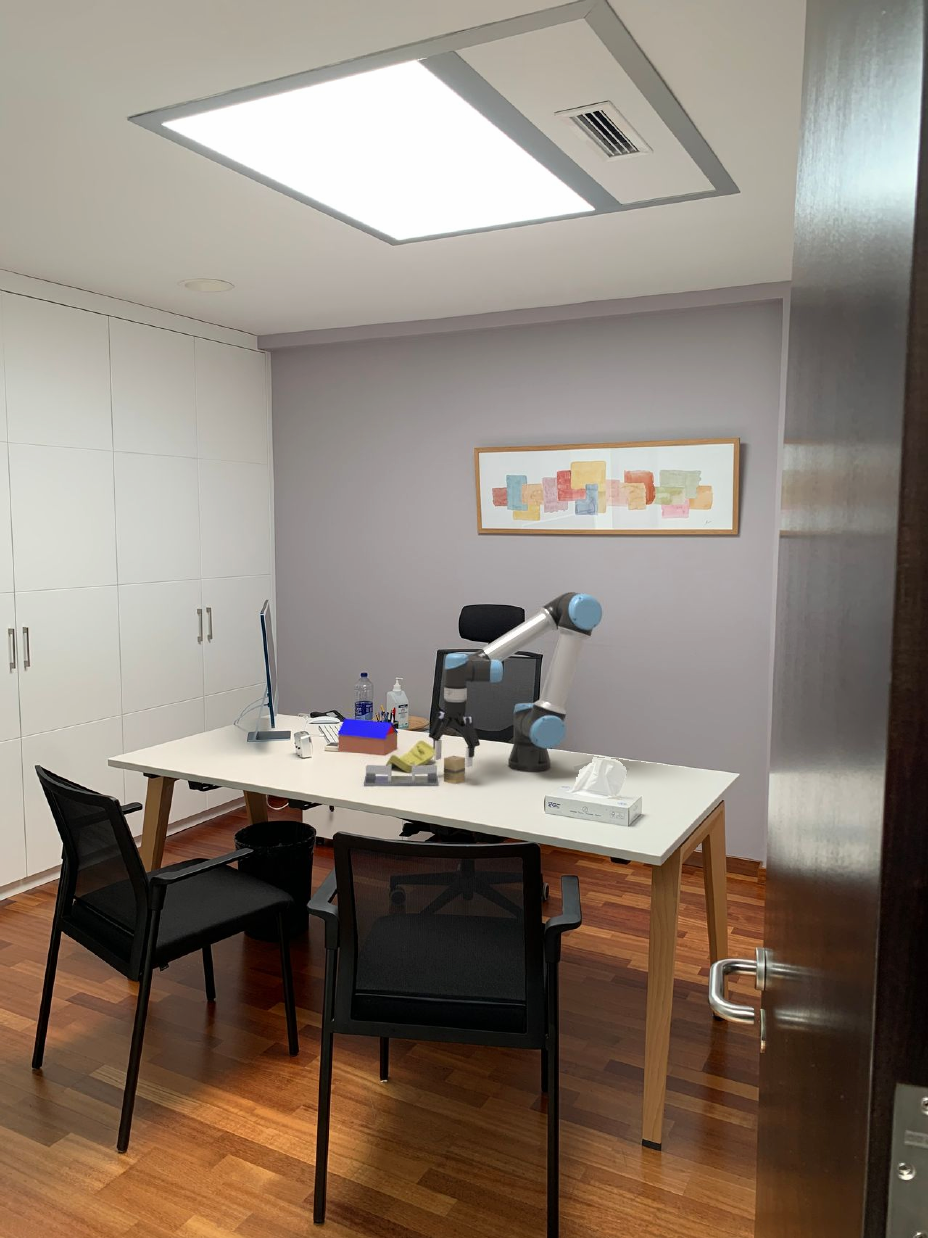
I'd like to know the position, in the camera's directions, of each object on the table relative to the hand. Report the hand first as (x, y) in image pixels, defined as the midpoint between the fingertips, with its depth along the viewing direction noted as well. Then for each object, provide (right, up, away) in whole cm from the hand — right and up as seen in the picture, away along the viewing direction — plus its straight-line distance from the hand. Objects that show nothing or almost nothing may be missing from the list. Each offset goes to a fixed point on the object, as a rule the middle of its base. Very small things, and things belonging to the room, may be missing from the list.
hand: (453, 763), depth 305 cm
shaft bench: (-17, -6, -2) cm, 18 cm away
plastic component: (-15, -5, +21) cm, 26 cm away
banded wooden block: (0, -6, +1) cm, 6 cm away
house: (-33, -3, +45) cm, 56 cm away
